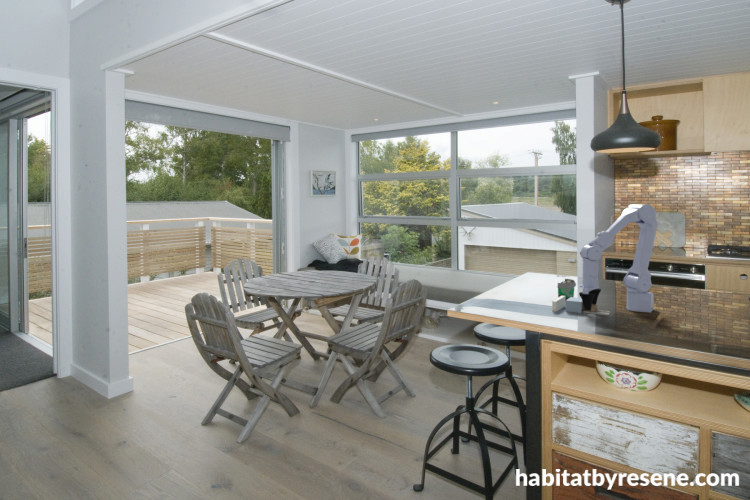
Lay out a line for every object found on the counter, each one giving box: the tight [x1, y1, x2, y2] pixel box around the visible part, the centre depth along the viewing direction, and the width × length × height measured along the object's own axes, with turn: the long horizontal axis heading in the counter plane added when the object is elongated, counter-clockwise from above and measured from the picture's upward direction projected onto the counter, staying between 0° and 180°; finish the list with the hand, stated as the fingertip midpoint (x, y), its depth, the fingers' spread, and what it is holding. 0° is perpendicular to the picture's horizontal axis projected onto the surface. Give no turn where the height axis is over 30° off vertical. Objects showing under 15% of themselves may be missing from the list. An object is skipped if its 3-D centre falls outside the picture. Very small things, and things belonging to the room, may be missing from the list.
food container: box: [557, 278, 577, 303], centre depth 211 cm, size 12×6×10 cm, turn 143°
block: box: [565, 296, 583, 314], centre depth 193 cm, size 6×7×6 cm
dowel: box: [582, 303, 599, 312], centre depth 191 cm, size 8×3×3 cm, turn 51°
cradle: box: [582, 309, 611, 316], centre depth 188 cm, size 9×5×2 cm, turn 51°
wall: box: [551, 296, 566, 313], centre depth 197 cm, size 2×12×6 cm, turn 141°
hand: (590, 308), depth 189 cm, fingers open, 7 cm apart
